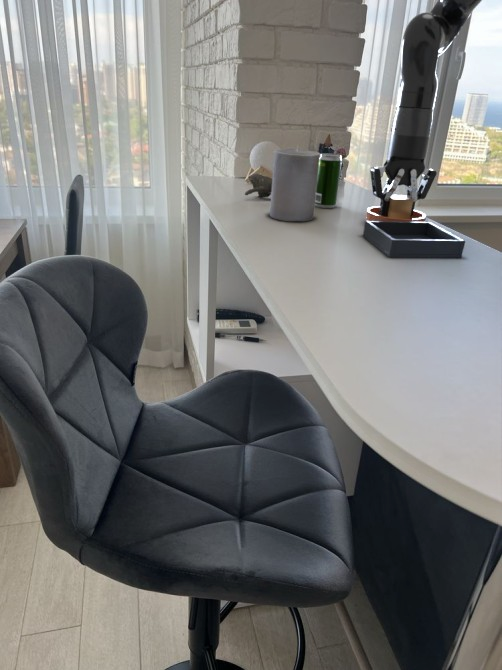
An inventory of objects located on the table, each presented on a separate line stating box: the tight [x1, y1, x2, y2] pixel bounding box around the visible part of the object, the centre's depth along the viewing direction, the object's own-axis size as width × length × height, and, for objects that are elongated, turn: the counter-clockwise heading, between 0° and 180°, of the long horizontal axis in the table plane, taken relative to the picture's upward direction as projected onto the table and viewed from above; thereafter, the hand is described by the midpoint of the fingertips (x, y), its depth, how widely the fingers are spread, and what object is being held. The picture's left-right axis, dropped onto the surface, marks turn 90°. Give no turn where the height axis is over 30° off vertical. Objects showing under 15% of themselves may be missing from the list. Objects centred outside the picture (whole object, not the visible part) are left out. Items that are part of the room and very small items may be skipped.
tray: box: [362, 220, 466, 259], centre depth 94 cm, size 14×14×3 cm
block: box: [388, 194, 413, 219], centre depth 107 cm, size 4×4×4 cm
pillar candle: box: [269, 144, 321, 222], centre depth 108 cm, size 10×10×15 cm
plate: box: [364, 205, 427, 222], centre depth 108 cm, size 12×12×3 cm
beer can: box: [315, 152, 343, 209], centre depth 121 cm, size 5×5×12 cm
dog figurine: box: [244, 173, 273, 198], centre depth 127 cm, size 12×6×7 cm, turn 91°
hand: (395, 218), depth 108 cm, fingers closed on block, 4 cm apart
